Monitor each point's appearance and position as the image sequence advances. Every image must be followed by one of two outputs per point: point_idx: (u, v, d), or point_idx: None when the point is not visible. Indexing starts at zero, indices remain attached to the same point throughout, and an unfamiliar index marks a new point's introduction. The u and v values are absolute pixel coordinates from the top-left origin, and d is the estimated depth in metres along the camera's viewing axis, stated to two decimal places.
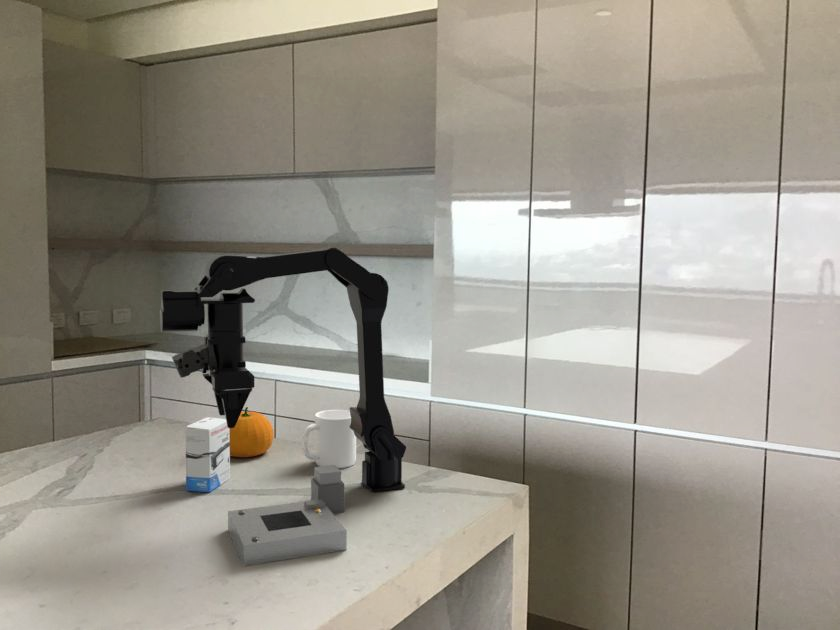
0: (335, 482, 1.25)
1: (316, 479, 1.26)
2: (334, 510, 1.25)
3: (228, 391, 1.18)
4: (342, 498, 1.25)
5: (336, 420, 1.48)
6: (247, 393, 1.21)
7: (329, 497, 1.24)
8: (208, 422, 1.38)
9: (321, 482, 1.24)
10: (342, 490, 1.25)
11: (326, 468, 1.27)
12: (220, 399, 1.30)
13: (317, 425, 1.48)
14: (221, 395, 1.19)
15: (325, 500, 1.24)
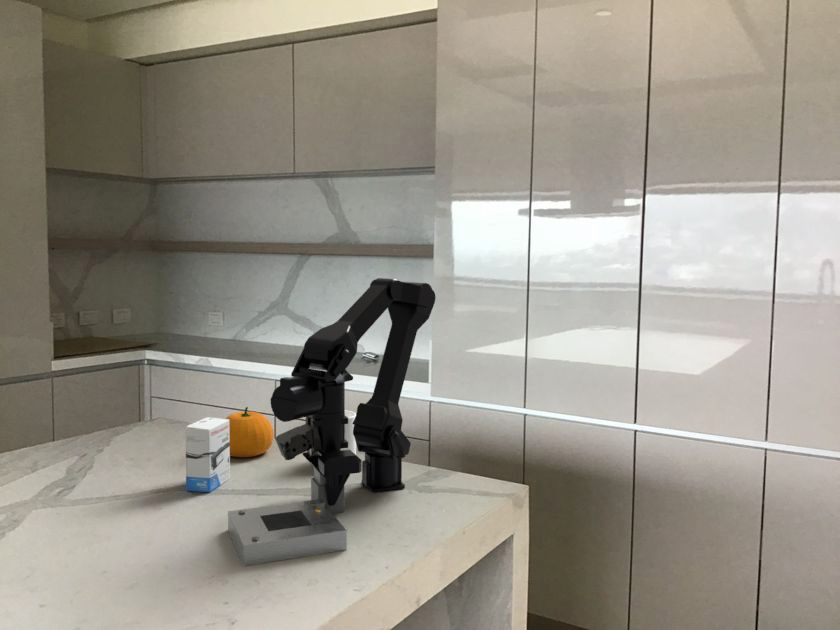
0: None
1: (316, 479, 1.26)
2: (334, 510, 1.25)
3: None
4: (342, 498, 1.25)
5: None
6: None
7: None
8: (208, 422, 1.38)
9: (321, 482, 1.24)
10: (342, 490, 1.25)
11: None
12: None
13: None
14: (324, 475, 1.21)
15: (324, 500, 1.24)
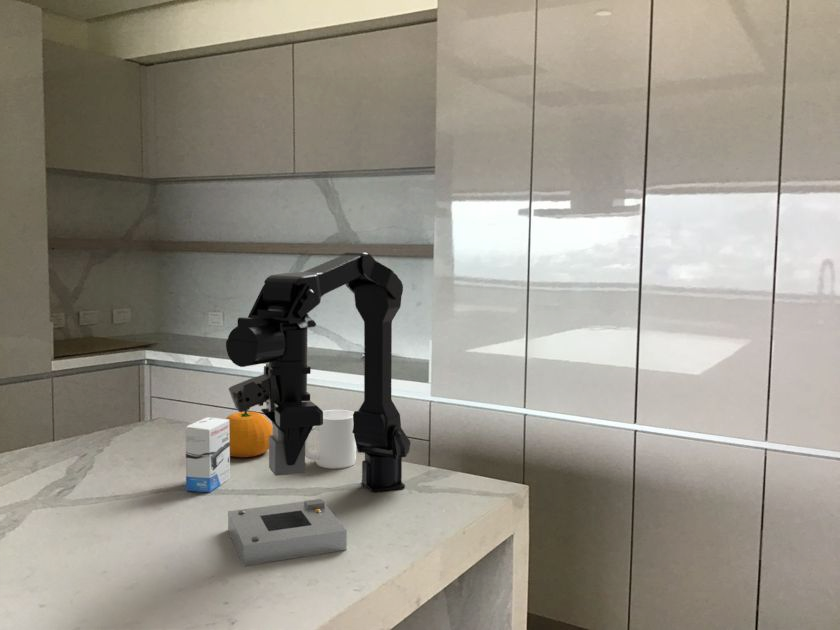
0: None
1: (274, 436, 1.13)
2: (293, 470, 1.12)
3: None
4: (303, 457, 1.12)
5: (336, 420, 1.48)
6: (310, 427, 1.10)
7: None
8: (208, 422, 1.38)
9: (279, 438, 1.11)
10: (303, 448, 1.12)
11: None
12: None
13: None
14: (282, 429, 1.08)
15: (283, 458, 1.11)
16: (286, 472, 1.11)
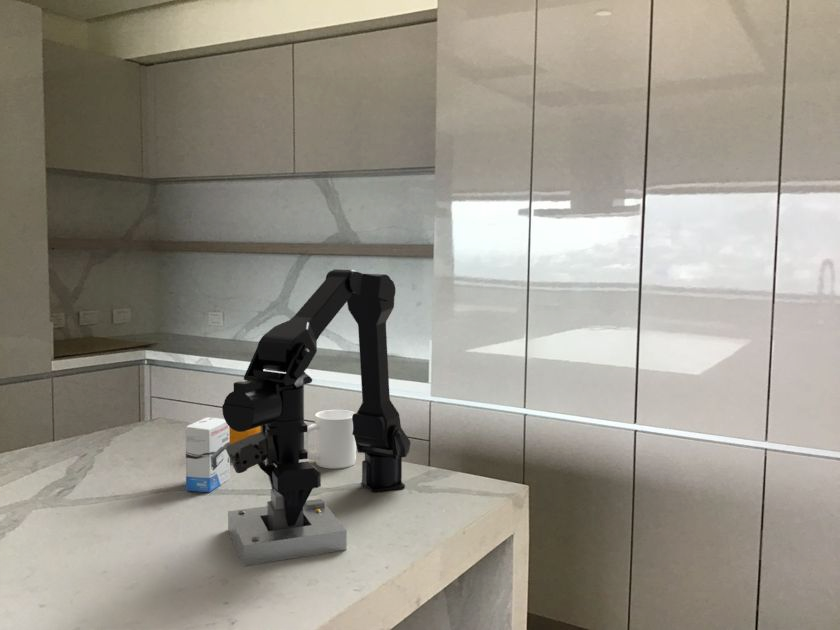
0: None
1: (272, 503, 1.13)
2: None
3: None
4: (301, 524, 1.12)
5: (336, 420, 1.48)
6: (310, 489, 1.09)
7: (286, 523, 1.11)
8: (208, 422, 1.38)
9: (277, 506, 1.11)
10: (301, 515, 1.12)
11: None
12: None
13: (317, 425, 1.48)
14: (282, 492, 1.07)
15: (281, 526, 1.11)
16: None
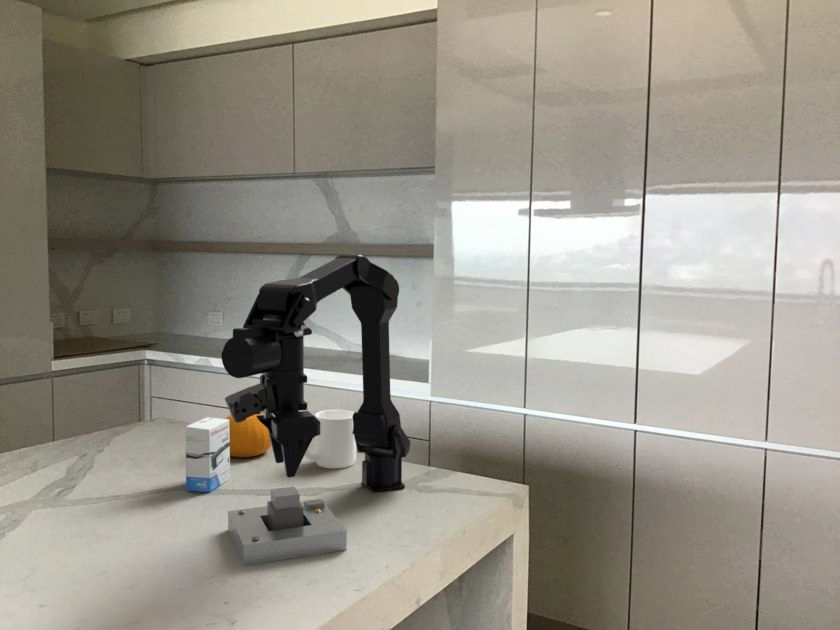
0: (293, 506, 1.12)
1: (272, 503, 1.13)
2: None
3: (290, 438, 1.05)
4: (301, 524, 1.12)
5: (336, 420, 1.48)
6: (309, 439, 1.08)
7: (286, 523, 1.11)
8: (208, 422, 1.38)
9: (277, 506, 1.11)
10: (301, 515, 1.12)
11: (284, 490, 1.14)
12: (277, 445, 1.16)
13: None
14: (281, 442, 1.06)
15: (281, 526, 1.11)
16: None
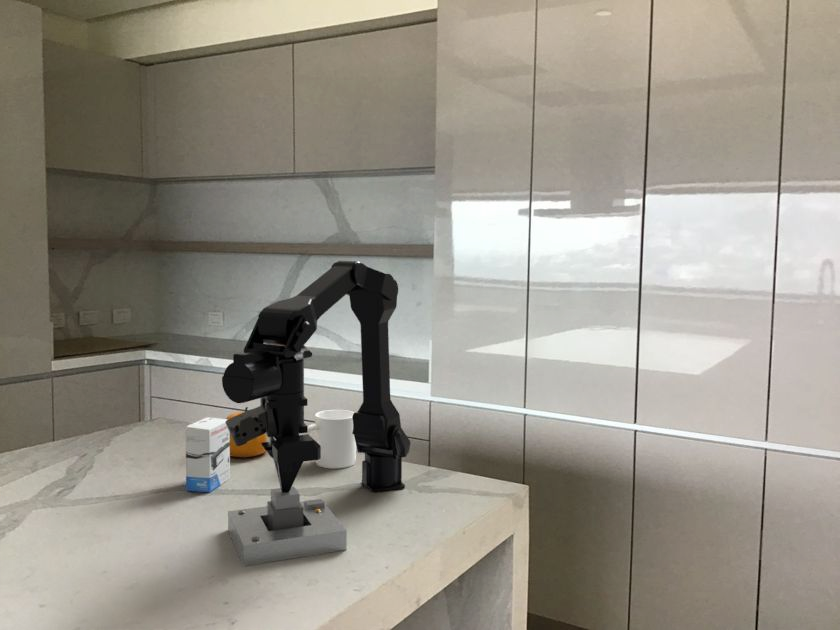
0: (293, 506, 1.12)
1: (272, 503, 1.13)
2: None
3: None
4: (301, 524, 1.12)
5: (336, 420, 1.48)
6: None
7: (286, 523, 1.11)
8: (208, 422, 1.38)
9: (277, 506, 1.11)
10: (301, 515, 1.12)
11: None
12: None
13: (317, 425, 1.48)
14: None
15: (281, 526, 1.11)
16: None
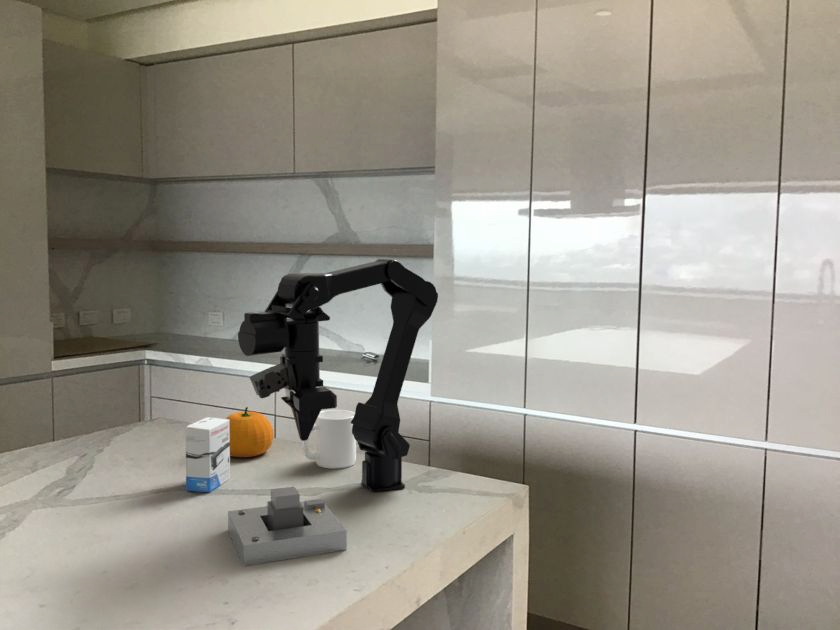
0: (293, 506, 1.12)
1: (272, 503, 1.13)
2: None
3: None
4: (301, 524, 1.12)
5: (336, 420, 1.48)
6: None
7: (286, 523, 1.11)
8: (208, 422, 1.38)
9: (277, 506, 1.11)
10: (301, 515, 1.12)
11: (284, 490, 1.14)
12: None
13: (317, 425, 1.48)
14: (296, 409, 1.23)
15: (281, 526, 1.11)
16: None
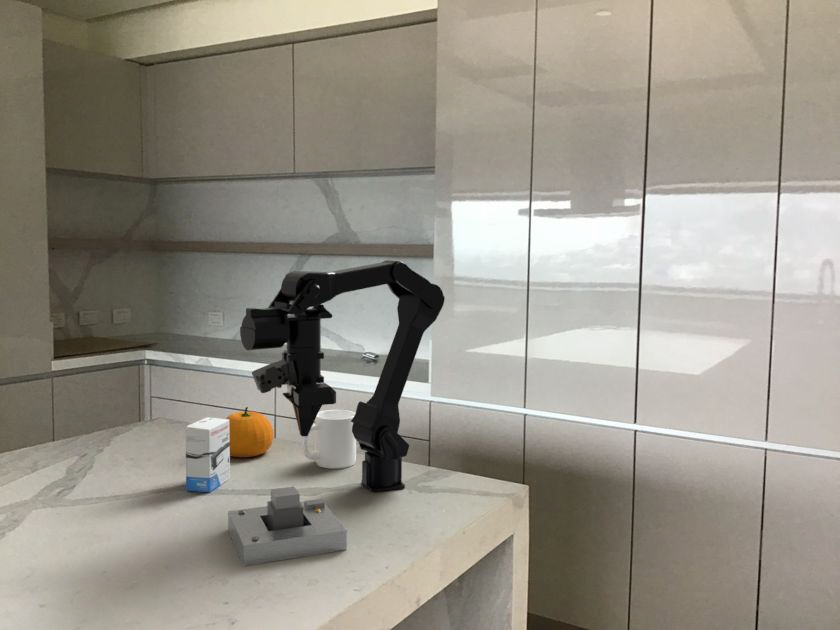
0: (293, 506, 1.12)
1: (272, 503, 1.13)
2: None
3: None
4: (301, 524, 1.12)
5: (336, 420, 1.48)
6: None
7: (286, 523, 1.11)
8: (208, 422, 1.38)
9: (277, 506, 1.11)
10: (301, 515, 1.12)
11: (284, 490, 1.14)
12: None
13: (317, 425, 1.48)
14: (296, 405, 1.24)
15: (281, 526, 1.11)
16: None
